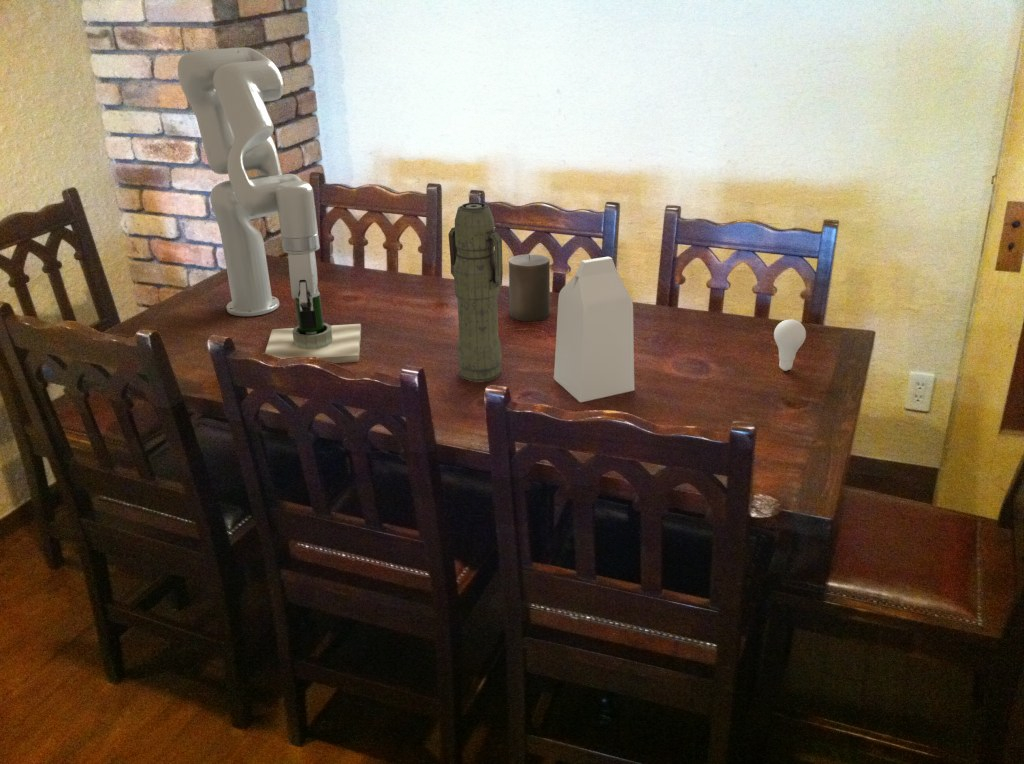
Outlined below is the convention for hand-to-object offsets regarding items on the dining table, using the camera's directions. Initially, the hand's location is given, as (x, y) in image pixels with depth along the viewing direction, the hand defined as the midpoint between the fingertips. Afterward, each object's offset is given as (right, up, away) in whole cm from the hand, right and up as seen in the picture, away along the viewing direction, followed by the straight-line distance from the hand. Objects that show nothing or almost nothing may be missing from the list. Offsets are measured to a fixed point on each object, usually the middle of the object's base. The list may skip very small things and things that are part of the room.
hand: (310, 321), depth 189 cm
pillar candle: (+48, +3, +19) cm, 52 cm away
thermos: (+37, -12, -10) cm, 40 cm away
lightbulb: (+100, -11, -12) cm, 101 cm away
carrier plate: (0, -6, +3) cm, 6 cm away
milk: (+60, -14, -16) cm, 64 cm away
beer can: (0, -4, +2) cm, 5 cm away
